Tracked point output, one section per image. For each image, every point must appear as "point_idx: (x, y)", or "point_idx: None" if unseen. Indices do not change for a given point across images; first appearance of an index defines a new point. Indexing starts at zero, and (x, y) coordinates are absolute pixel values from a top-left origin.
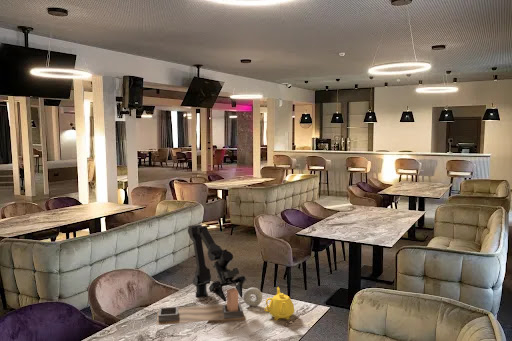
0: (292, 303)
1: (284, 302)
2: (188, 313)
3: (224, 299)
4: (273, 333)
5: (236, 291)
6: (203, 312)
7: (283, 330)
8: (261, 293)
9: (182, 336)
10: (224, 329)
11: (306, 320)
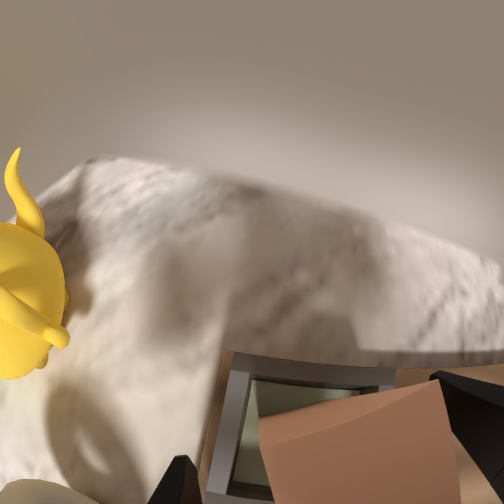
0: None
1: (8, 167)
2: None
3: (455, 381)
4: (153, 182)
5: (304, 435)
6: (466, 476)
7: (105, 194)
8: (3, 489)
9: None
10: (378, 281)
11: None
